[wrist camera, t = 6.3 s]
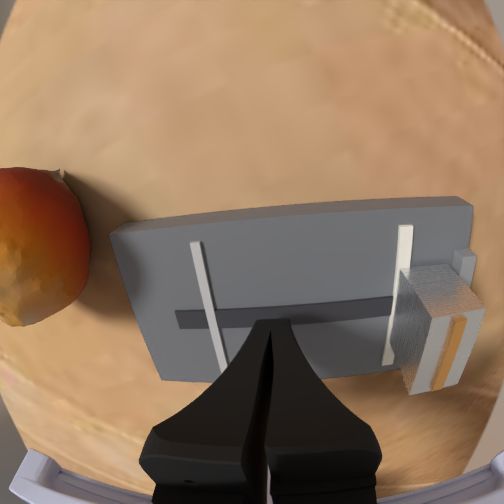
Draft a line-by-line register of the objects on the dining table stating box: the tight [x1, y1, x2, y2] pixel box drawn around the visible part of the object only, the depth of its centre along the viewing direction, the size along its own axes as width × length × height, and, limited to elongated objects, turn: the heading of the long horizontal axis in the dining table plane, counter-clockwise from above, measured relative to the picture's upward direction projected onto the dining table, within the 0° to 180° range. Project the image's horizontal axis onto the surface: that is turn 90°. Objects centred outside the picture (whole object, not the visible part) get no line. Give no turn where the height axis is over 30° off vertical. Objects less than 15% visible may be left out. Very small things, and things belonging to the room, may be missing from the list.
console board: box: [109, 196, 477, 383], centre depth 14 cm, size 9×16×2 cm, turn 97°
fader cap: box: [389, 264, 486, 395], centre depth 11 cm, size 4×2×4 cm, turn 7°
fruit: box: [0, 167, 91, 327], centre depth 12 cm, size 8×8×8 cm
